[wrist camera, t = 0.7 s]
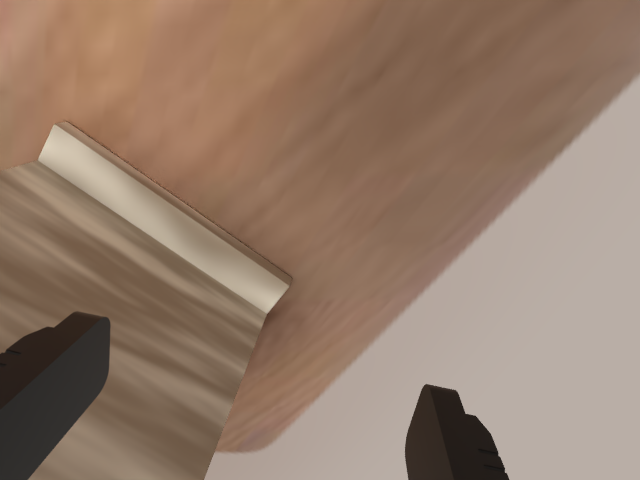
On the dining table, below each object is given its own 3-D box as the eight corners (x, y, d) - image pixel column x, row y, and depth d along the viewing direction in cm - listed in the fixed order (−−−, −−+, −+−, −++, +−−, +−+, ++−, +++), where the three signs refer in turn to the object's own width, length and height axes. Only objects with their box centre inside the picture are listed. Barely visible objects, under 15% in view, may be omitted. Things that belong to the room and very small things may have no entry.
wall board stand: (66, 121, 34) (-645, 253, 10) (292, 278, 37) (169, 657, 13) (14, 232, 38) (-574, 514, 14) (221, 364, 42) (32, 770, 18)
